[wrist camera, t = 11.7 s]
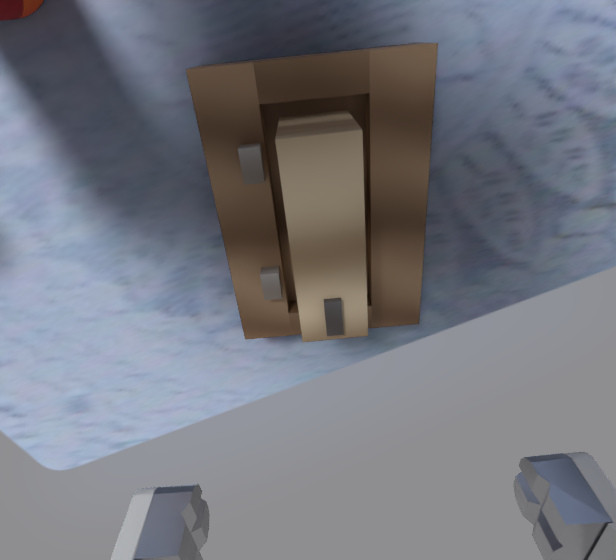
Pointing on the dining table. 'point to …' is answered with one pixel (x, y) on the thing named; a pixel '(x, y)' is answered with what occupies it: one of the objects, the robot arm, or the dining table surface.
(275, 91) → the frame
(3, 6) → the paper cup
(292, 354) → the dining table surface
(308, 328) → the door
